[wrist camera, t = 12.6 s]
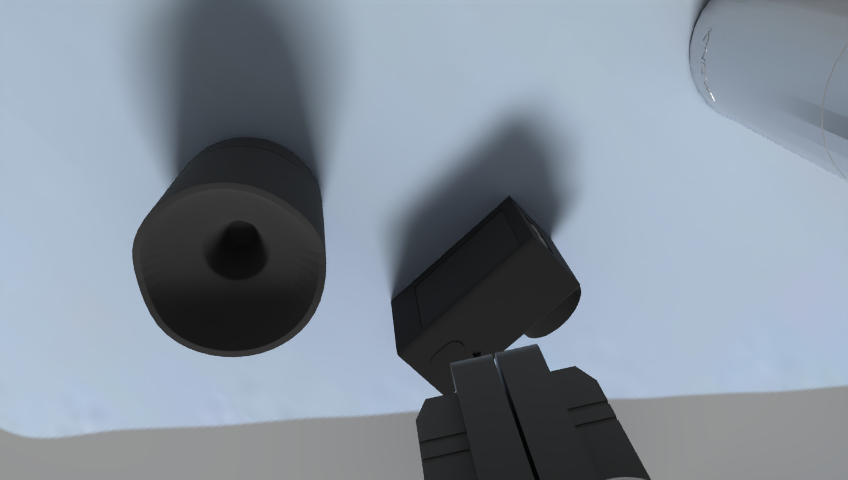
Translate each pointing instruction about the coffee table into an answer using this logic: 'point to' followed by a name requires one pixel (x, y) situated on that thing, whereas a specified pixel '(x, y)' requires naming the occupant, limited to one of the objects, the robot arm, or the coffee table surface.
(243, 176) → the pen holder
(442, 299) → the digital camera
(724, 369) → the coffee table surface
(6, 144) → the coffee table surface
